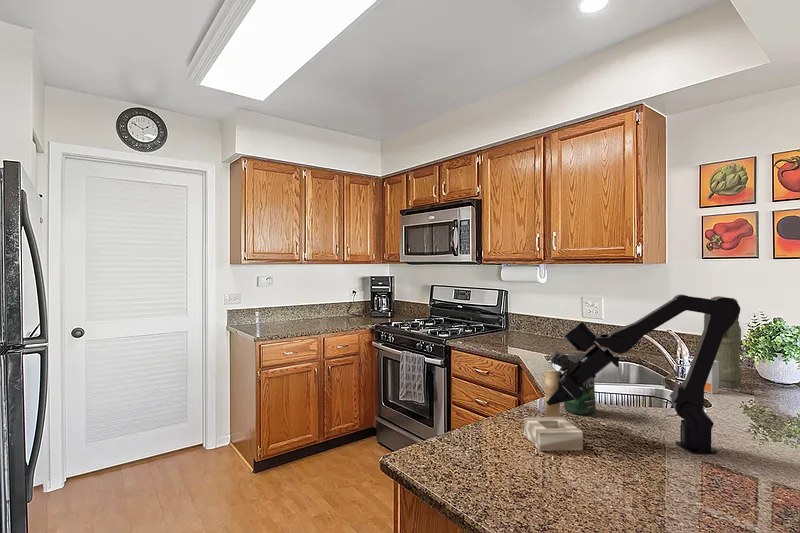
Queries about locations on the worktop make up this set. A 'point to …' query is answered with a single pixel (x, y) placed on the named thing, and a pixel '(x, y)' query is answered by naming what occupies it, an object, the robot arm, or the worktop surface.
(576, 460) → the worktop surface
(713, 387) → the skincare box
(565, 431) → the socket block
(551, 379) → the wooden stick
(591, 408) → the coffee jar
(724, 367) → the thermos
